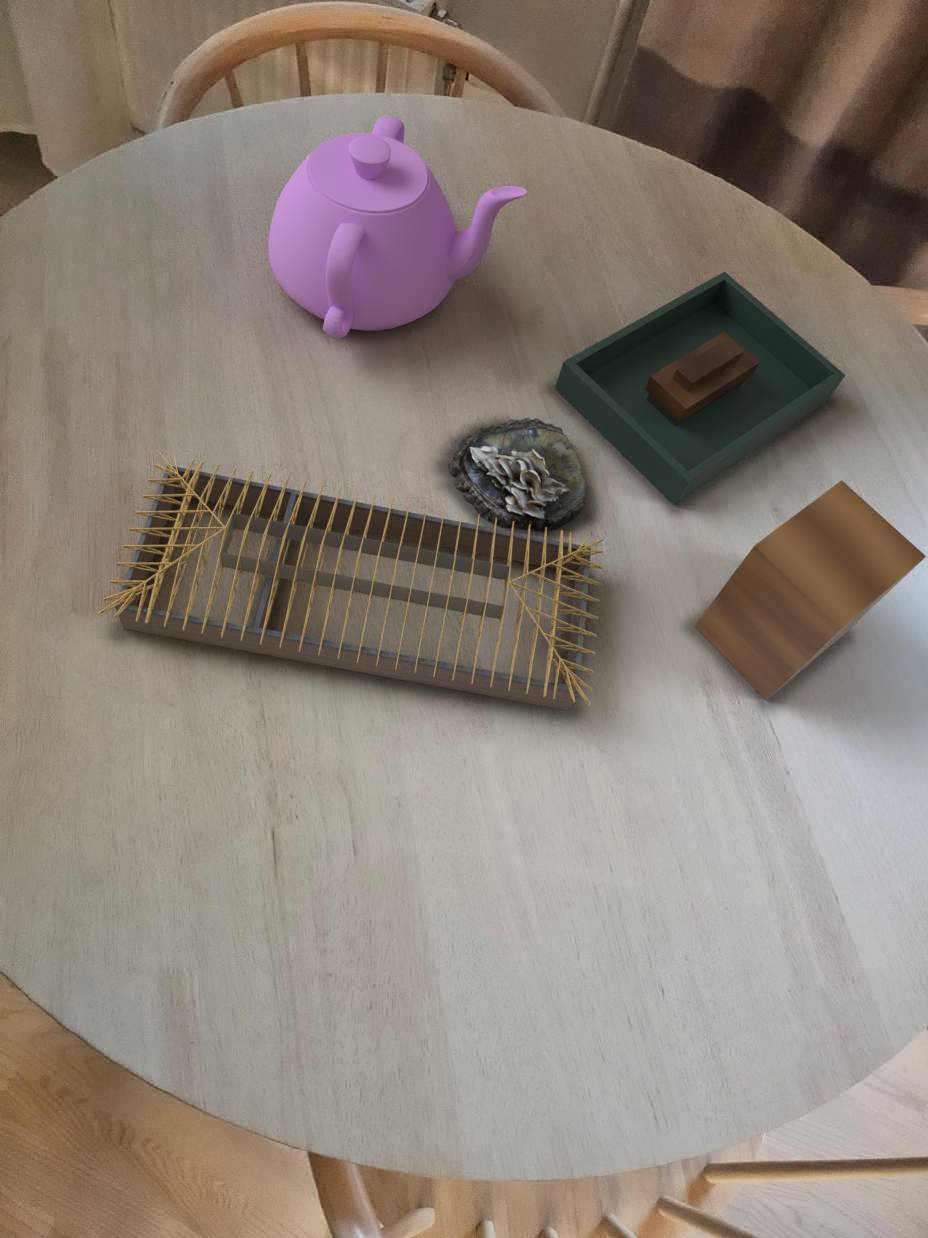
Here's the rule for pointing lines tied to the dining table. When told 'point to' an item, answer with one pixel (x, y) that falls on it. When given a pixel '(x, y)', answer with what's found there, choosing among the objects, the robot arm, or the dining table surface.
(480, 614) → the rafter model
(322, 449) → the dining table surface
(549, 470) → the log
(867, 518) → the stand
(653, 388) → the brush
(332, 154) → the teapot
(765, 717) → the dining table surface
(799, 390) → the tray
